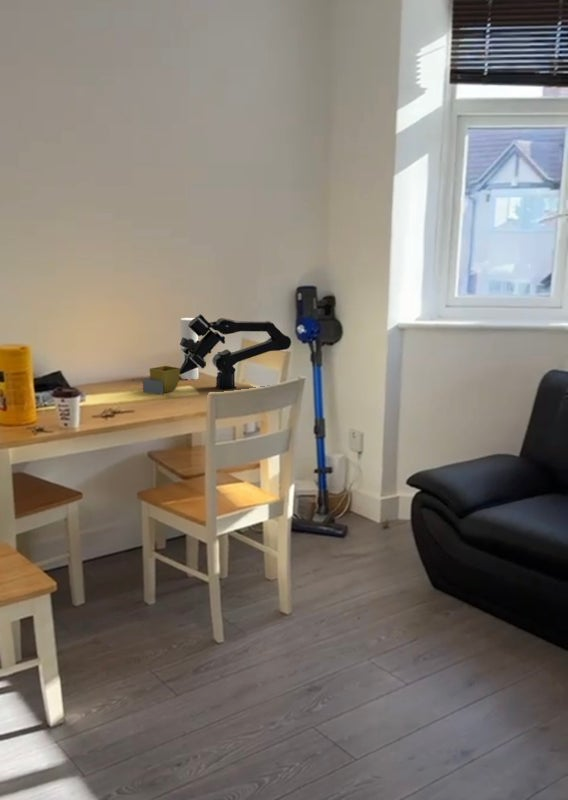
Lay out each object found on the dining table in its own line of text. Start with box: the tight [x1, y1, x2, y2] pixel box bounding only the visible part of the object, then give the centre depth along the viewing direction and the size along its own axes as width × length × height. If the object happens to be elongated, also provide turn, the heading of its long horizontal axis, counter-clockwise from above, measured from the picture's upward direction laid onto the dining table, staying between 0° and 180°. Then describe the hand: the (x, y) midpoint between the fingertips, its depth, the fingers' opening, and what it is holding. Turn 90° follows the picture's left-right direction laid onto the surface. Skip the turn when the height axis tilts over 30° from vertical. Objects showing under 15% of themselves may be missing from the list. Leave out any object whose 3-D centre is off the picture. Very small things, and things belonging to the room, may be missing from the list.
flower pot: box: [148, 365, 181, 393], centre depth 300 cm, size 9×9×9 cm
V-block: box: [142, 376, 164, 395], centre depth 299 cm, size 7×12×5 cm, turn 18°
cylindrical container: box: [180, 317, 199, 381], centre depth 323 cm, size 7×7×25 cm
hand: (179, 373), depth 301 cm, fingers closed
